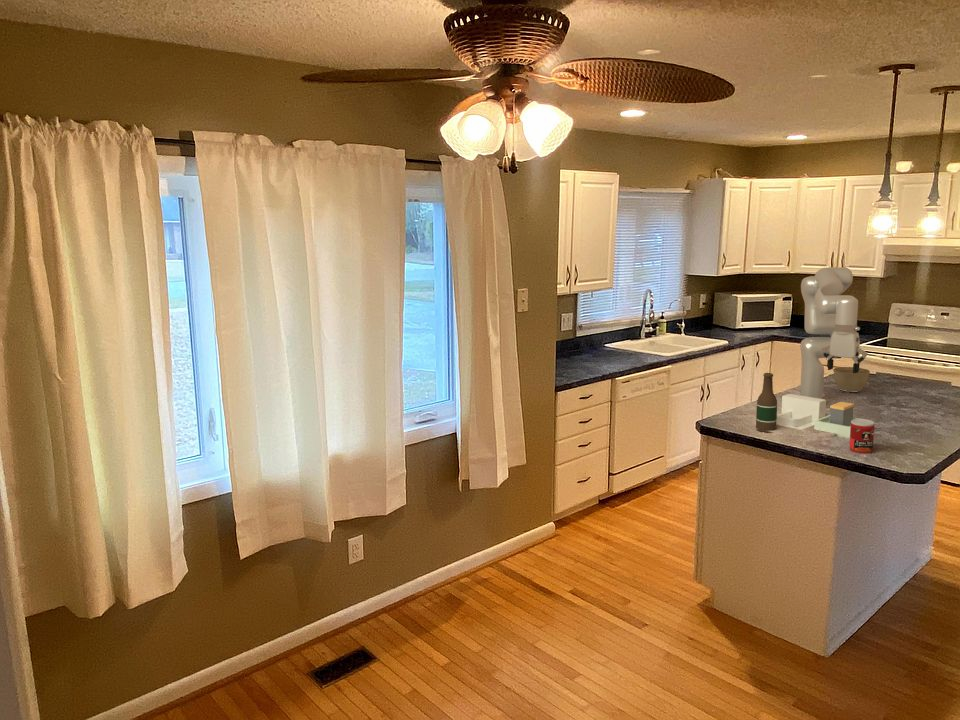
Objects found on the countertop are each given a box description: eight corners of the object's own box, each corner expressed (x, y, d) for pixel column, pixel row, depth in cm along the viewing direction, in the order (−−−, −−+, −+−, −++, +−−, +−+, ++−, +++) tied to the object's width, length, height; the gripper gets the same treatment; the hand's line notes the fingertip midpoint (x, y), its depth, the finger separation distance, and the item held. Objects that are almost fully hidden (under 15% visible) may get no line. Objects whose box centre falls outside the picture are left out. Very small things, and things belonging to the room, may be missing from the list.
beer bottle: (780, 431, 280) (783, 373, 276) (767, 434, 276) (770, 376, 272) (764, 426, 287) (766, 370, 283) (751, 430, 283) (753, 373, 279)
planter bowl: (825, 390, 348) (826, 369, 346) (845, 386, 355) (846, 365, 354) (855, 396, 334) (856, 374, 332) (875, 391, 341) (877, 370, 340)
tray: (832, 424, 288) (832, 413, 287) (867, 430, 277) (868, 419, 277) (813, 431, 278) (814, 420, 277) (849, 438, 267) (850, 427, 267)
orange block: (839, 425, 282) (840, 401, 281) (852, 427, 278) (854, 403, 277) (828, 429, 277) (830, 405, 275) (842, 432, 273) (843, 407, 271)
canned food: (853, 453, 250) (855, 424, 248) (845, 446, 258) (847, 418, 256) (876, 454, 249) (878, 424, 247) (867, 447, 256) (869, 418, 255)
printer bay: (788, 415, 303) (789, 393, 301) (824, 422, 290) (826, 399, 289) (764, 424, 290) (765, 401, 289) (801, 432, 278) (803, 408, 276)
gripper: (872, 329, 267) (869, 372, 270) (827, 325, 280) (825, 366, 284) (864, 332, 263) (861, 375, 266) (819, 328, 276) (816, 369, 279)
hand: (842, 371), depth 275 cm, fingers open, 9 cm apart
